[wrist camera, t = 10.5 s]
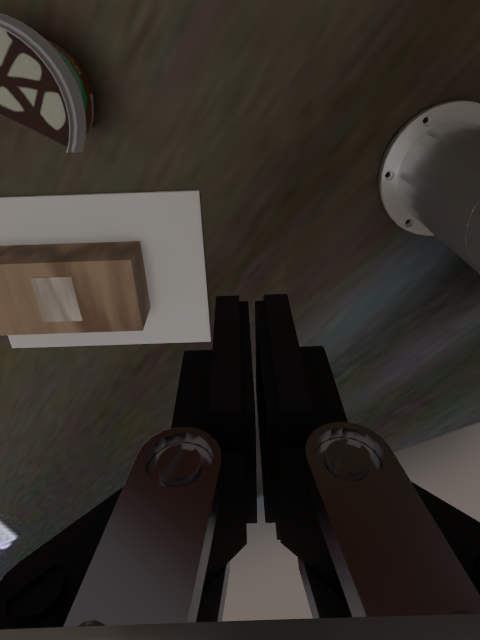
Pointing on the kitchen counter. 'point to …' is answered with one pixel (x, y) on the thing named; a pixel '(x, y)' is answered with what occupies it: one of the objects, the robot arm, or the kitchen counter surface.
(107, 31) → the kitchen counter surface
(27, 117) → the food container
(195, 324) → the grey mat
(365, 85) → the kitchen counter surface
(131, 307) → the walnut block
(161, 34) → the kitchen counter surface
